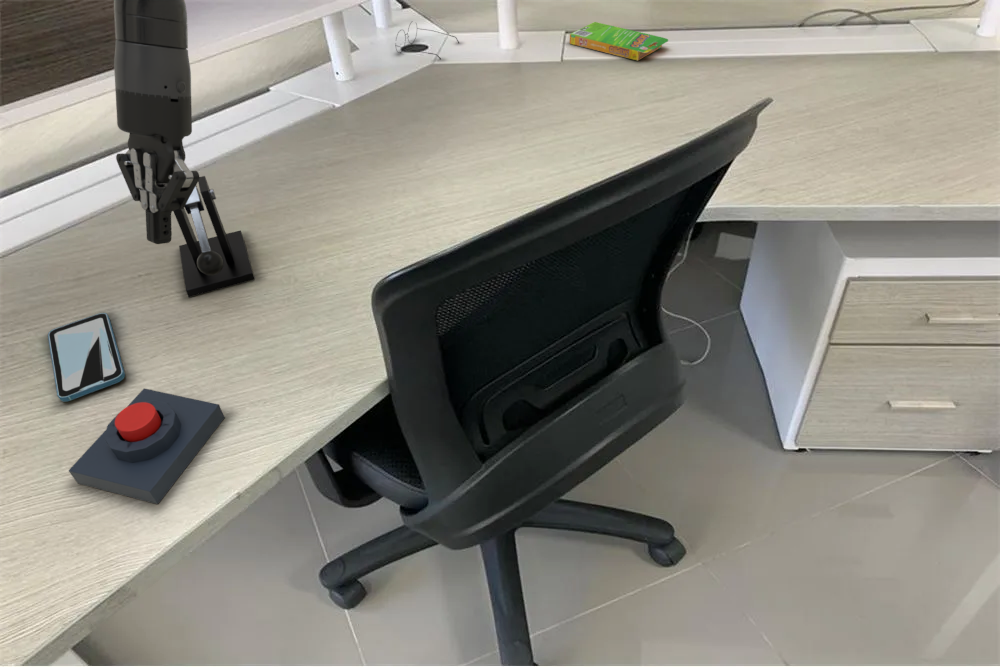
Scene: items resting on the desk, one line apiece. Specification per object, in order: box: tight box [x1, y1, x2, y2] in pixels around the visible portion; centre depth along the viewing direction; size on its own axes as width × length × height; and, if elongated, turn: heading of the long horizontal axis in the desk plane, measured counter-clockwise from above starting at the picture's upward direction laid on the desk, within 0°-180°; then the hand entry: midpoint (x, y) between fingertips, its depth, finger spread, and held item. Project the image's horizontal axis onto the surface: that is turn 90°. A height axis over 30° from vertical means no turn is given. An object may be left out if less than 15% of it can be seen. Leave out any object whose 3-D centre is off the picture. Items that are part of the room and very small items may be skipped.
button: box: [115, 402, 161, 442], centre depth 73 cm, size 4×4×2 cm
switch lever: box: [184, 185, 223, 275], centre depth 93 cm, size 13×3×3 cm
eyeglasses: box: [394, 22, 460, 61], centre depth 161 cm, size 11×13×5 cm
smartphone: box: [47, 312, 126, 403], centre depth 87 cm, size 7×1×15 cm
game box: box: [569, 21, 669, 62], centre depth 157 cm, size 3×10×20 cm
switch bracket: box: [172, 175, 256, 298], centre depth 97 cm, size 12×9×13 cm
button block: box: [68, 388, 225, 505], centre depth 75 cm, size 12×10×4 cm
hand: (159, 242), depth 83 cm, fingers closed
